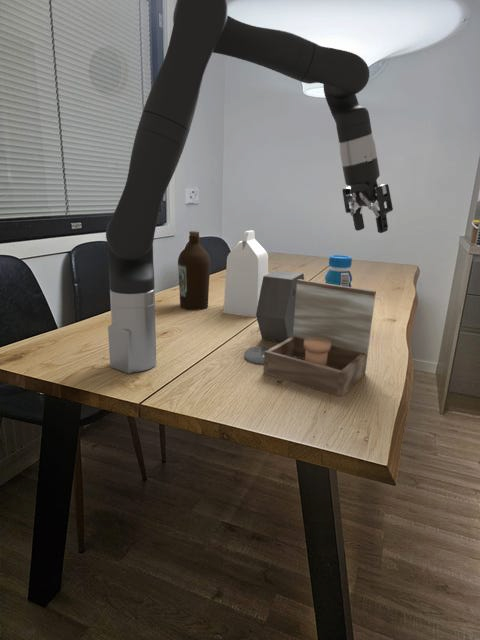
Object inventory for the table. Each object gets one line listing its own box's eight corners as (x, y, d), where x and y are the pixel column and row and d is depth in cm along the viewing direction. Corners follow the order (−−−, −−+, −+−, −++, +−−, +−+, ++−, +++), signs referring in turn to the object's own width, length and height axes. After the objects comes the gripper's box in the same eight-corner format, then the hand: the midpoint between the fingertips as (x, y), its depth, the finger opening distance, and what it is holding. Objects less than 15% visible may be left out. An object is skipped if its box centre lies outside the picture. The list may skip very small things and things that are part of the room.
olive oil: (203, 301, 149) (204, 230, 142) (214, 309, 140) (215, 233, 133) (174, 304, 145) (173, 230, 138) (183, 312, 136) (183, 233, 129)
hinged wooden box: (341, 396, 83) (352, 304, 77) (263, 373, 92) (267, 289, 87) (365, 373, 94) (376, 291, 89) (293, 354, 104) (299, 279, 98)
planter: (283, 307, 127) (273, 254, 112) (308, 311, 124) (301, 257, 109) (264, 351, 118) (251, 299, 103) (291, 356, 115) (281, 304, 100)
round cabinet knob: (321, 381, 89) (324, 348, 87) (296, 374, 92) (299, 342, 90) (332, 372, 94) (335, 340, 92) (308, 366, 97) (311, 335, 95)
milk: (257, 317, 133) (261, 233, 126) (223, 312, 137) (225, 231, 129) (267, 308, 144) (272, 231, 137) (236, 304, 148) (239, 228, 140)
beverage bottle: (318, 321, 132) (324, 257, 126) (323, 314, 139) (328, 253, 134) (346, 324, 129) (353, 259, 123) (349, 317, 137) (356, 255, 131)
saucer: (269, 367, 95) (269, 364, 95) (236, 357, 100) (236, 354, 100) (288, 355, 102) (288, 352, 102) (256, 347, 107) (257, 344, 107)
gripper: (327, 167, 99) (340, 234, 105) (365, 161, 86) (377, 238, 92) (354, 158, 101) (365, 224, 106) (394, 151, 88) (405, 227, 94)
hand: (371, 230), depth 99 cm, fingers open, 8 cm apart
